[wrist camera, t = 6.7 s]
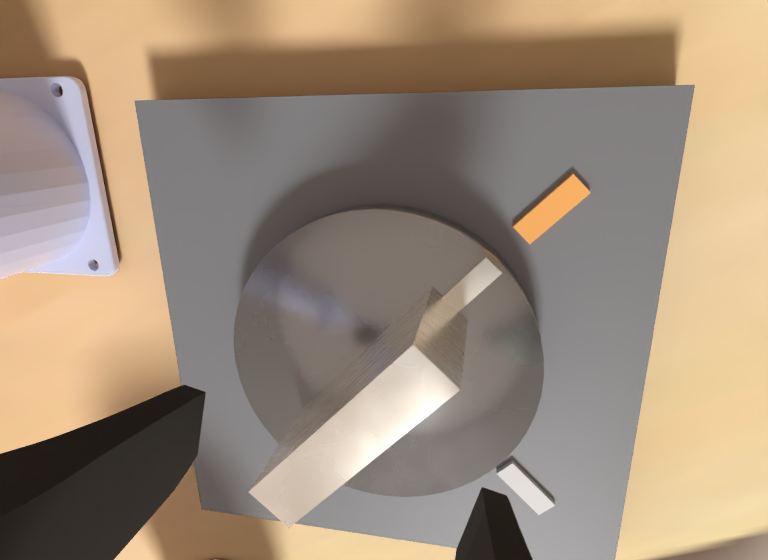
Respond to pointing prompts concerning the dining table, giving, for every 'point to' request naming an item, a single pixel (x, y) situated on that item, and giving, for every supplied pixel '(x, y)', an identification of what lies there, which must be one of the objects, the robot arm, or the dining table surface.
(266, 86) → the dining table surface
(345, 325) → the dial
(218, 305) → the dial base
